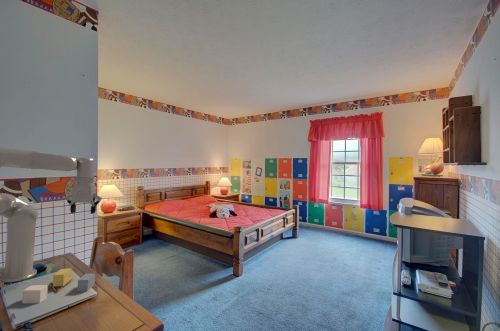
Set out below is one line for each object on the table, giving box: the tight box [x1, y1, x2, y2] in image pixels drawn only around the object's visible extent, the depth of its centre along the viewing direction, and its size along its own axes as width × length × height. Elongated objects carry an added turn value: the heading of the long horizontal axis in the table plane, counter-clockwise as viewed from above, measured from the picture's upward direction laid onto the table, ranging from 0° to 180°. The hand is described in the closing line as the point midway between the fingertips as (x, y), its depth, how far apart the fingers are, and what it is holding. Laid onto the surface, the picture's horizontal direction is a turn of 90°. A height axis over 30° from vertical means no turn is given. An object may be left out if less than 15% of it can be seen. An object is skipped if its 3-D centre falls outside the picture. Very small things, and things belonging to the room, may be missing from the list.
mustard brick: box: [52, 268, 73, 287], centre depth 104 cm, size 6×4×5 cm, turn 11°
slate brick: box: [76, 273, 96, 293], centre depth 103 cm, size 6×4×5 cm, turn 9°
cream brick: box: [21, 284, 49, 304], centre depth 92 cm, size 6×4×5 cm, turn 99°
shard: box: [48, 278, 74, 293], centre depth 103 cm, size 11×8×2 cm
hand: (83, 213), depth 124 cm, fingers open, 9 cm apart
